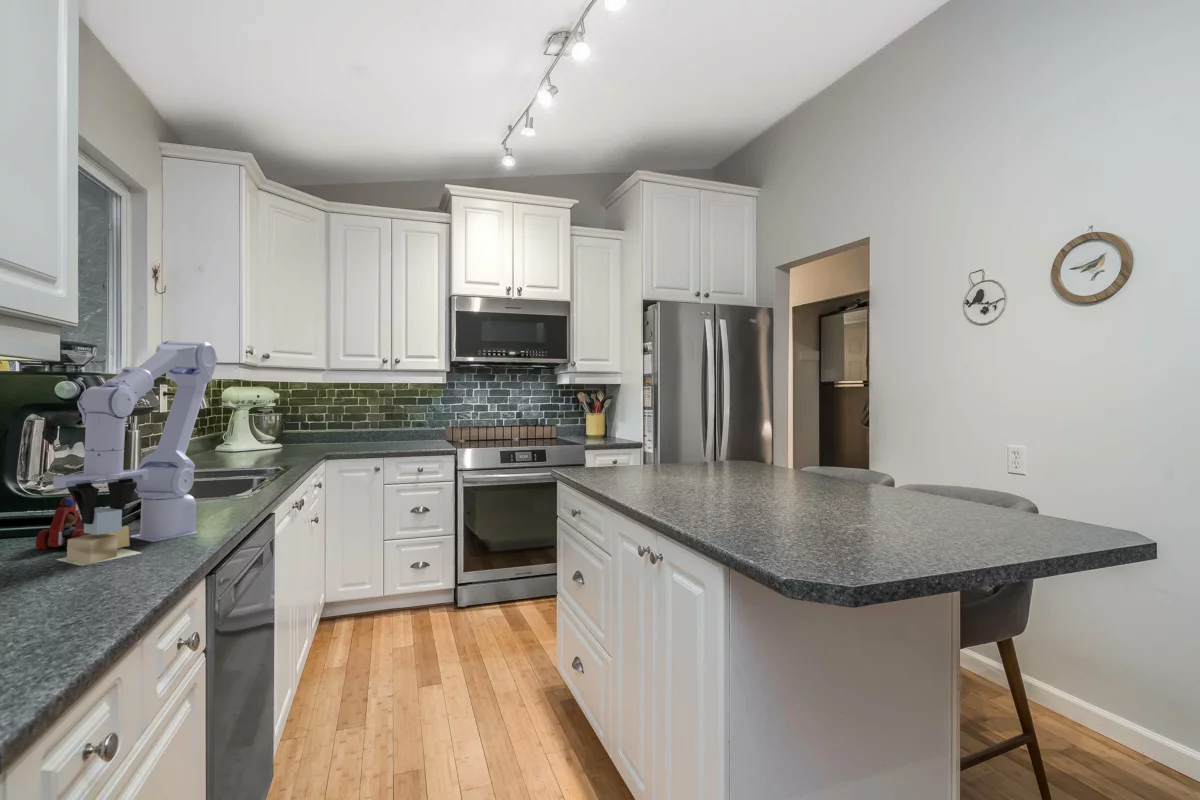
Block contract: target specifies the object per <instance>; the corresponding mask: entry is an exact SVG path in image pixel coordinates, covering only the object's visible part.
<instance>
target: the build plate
mask: <svg viewBox="0 0 1200 800" xmlns="http://www.w3.org/2000/svg"><path fill="white" fill-rule="evenodd" d="M140 554H142V552H140V551H136V550H131V549H127V548H123V547H121V548H117V557H113V558H109V559H105V560H102V561H98V562H94V563H91V564H89V563H79V562H68V561H67V556H65V557H62V558H61V557H59V558H57V559H56V558H55V561H59V562H64V563H68V564H71V565H76V566H79V567H82V566H86V565H87V566H88V565H93V564H97V563H103V562H107V561H111V560H117V559H121V558H125V557H130V556H135V555H140Z"/></svg>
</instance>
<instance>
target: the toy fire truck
mask: <svg viewBox="0 0 1200 800" xmlns="http://www.w3.org/2000/svg"><path fill="white" fill-rule="evenodd" d="M59 505H60V506H59V507H58V508H56V509H55V512H54V515H53V518H52V520H51V523H50V526H49V528H48V529H47V528H46V529H42V530H41V531H39V532H38V533H37V536H36V539H35V547H36V550H39V551H41V550H43V551H44V550H45V551H46V550H48V549H50V548H51V549H52V548H59V547H67V543H68V539H72V538H77V537H81V536H86V535H91V534H89V533H84V523H83V522H82V517H81V514H80V511H79V508H78V506H77V504H76V502H75V500H74V498H73V497H72V495H71V496H66V497H65V496H64V497H63V498H62V499H60V502H59Z"/></svg>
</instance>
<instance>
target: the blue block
mask: <svg viewBox="0 0 1200 800" xmlns="http://www.w3.org/2000/svg"><path fill="white" fill-rule="evenodd" d="M122 517H123V513H122V510H120V509H113V508H110V507H107V508H105V507H104V508H100V509H95V514H94V520H93V524H84V533H89V534H95V535H99V534H105V533H111V532H116V531H121V526H123V525H122V524H123V523H122V522H123V521H122V520H123V519H122Z"/></svg>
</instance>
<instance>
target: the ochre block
mask: <svg viewBox="0 0 1200 800" xmlns="http://www.w3.org/2000/svg"><path fill="white" fill-rule="evenodd" d="M129 529H130V528H129V525H122V526H121V531H116V532H111V533H105V534H107V535H118V542H117V548H125V547H129V546H130V544H131V543H130V530H129Z"/></svg>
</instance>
